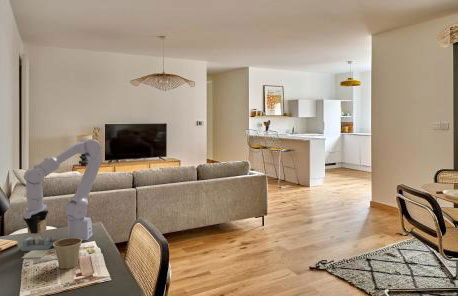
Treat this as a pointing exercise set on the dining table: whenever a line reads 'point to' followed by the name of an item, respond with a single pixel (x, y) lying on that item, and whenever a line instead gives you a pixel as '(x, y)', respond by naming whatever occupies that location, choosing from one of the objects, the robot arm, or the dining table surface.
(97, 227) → the dining table surface
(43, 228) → the collar
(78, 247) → the flower pot
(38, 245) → the vise
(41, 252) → the mat
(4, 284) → the dining table surface
